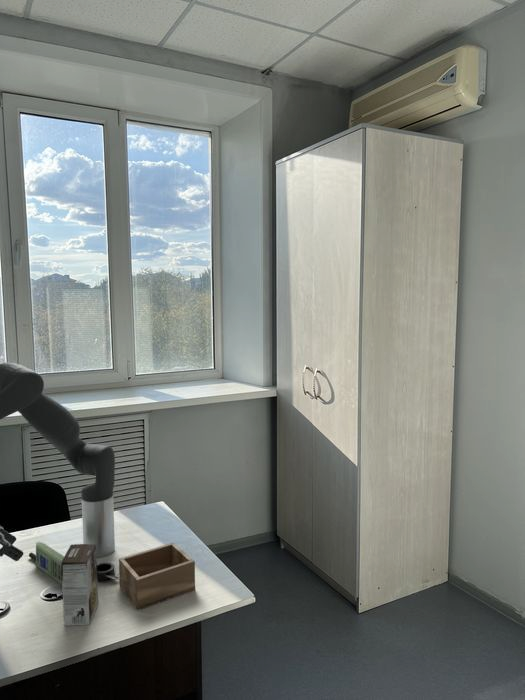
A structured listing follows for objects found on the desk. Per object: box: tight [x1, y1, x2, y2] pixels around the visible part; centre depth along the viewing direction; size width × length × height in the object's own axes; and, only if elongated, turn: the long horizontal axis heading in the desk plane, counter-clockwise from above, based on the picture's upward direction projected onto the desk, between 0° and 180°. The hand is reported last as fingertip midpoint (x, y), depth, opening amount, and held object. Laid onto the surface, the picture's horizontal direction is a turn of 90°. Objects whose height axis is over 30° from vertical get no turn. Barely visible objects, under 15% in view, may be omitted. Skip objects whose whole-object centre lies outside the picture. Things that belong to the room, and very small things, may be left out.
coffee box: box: [61, 543, 99, 627], centre depth 129 cm, size 9×6×16 cm
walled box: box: [118, 542, 196, 611], centre depth 140 cm, size 13×16×8 cm
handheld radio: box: [28, 541, 65, 585], centre depth 149 cm, size 7×3×25 cm
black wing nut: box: [97, 561, 120, 583], centre depth 147 cm, size 8×10×3 cm
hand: (17, 549), depth 120 cm, fingers open, 8 cm apart
